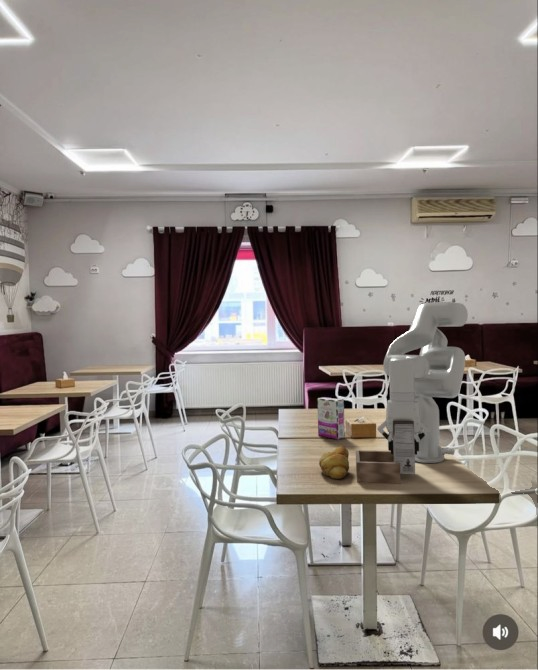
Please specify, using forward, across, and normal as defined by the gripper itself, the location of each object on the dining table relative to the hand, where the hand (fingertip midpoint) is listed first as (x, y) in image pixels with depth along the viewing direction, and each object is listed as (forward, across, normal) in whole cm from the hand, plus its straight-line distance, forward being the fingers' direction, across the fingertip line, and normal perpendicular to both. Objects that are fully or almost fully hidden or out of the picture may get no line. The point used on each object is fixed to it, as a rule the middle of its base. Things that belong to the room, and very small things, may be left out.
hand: (403, 452), depth 140 cm
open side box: (+7, +8, +1) cm, 11 cm away
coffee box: (+5, 0, 0) cm, 5 cm away
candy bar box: (+8, +25, -46) cm, 53 cm away
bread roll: (+8, +22, +1) cm, 23 cm away
